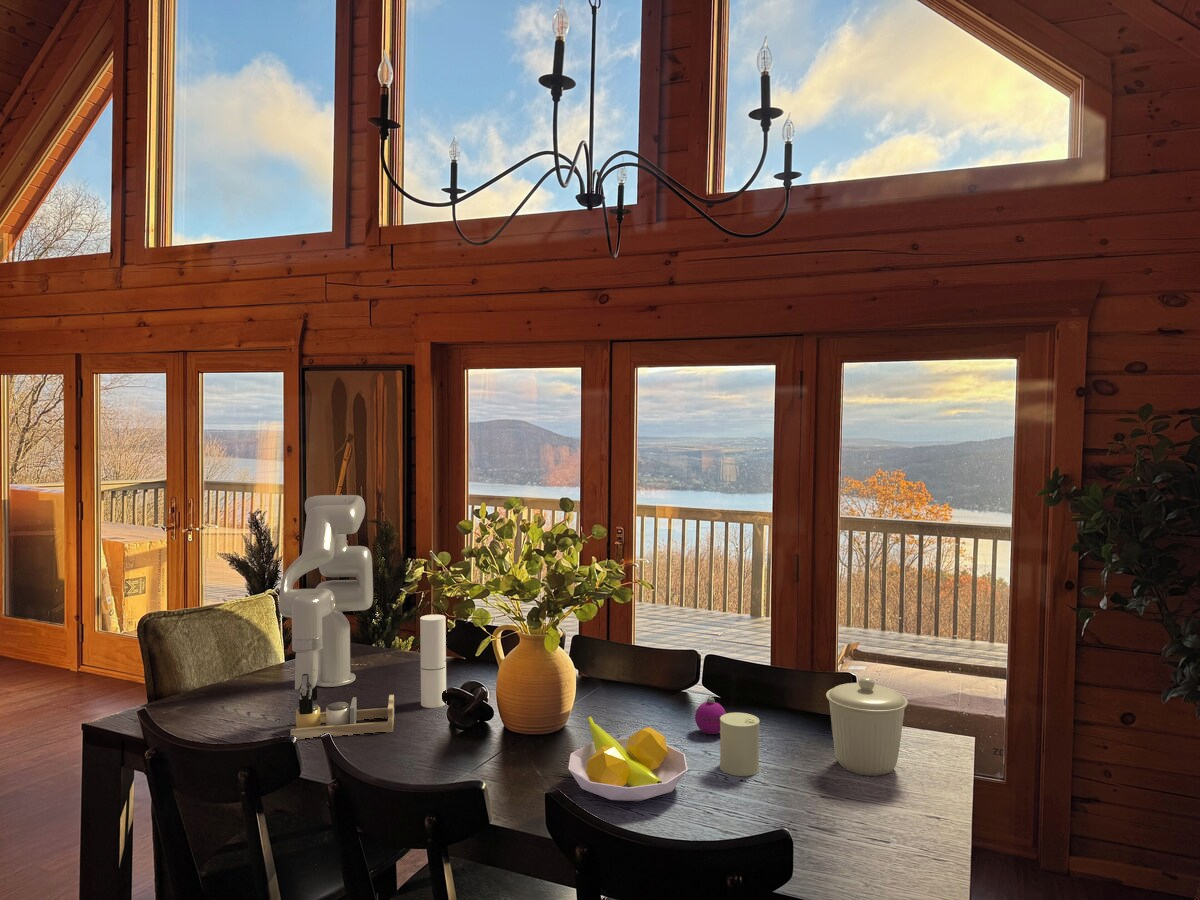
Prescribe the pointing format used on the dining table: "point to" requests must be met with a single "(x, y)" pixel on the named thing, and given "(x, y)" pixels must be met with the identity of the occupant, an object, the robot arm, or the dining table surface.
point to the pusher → (353, 711)
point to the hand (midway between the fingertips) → (308, 706)
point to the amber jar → (308, 718)
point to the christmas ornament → (709, 716)
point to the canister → (866, 726)
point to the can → (739, 744)
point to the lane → (352, 728)
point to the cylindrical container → (433, 660)
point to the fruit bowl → (627, 765)
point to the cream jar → (338, 714)
